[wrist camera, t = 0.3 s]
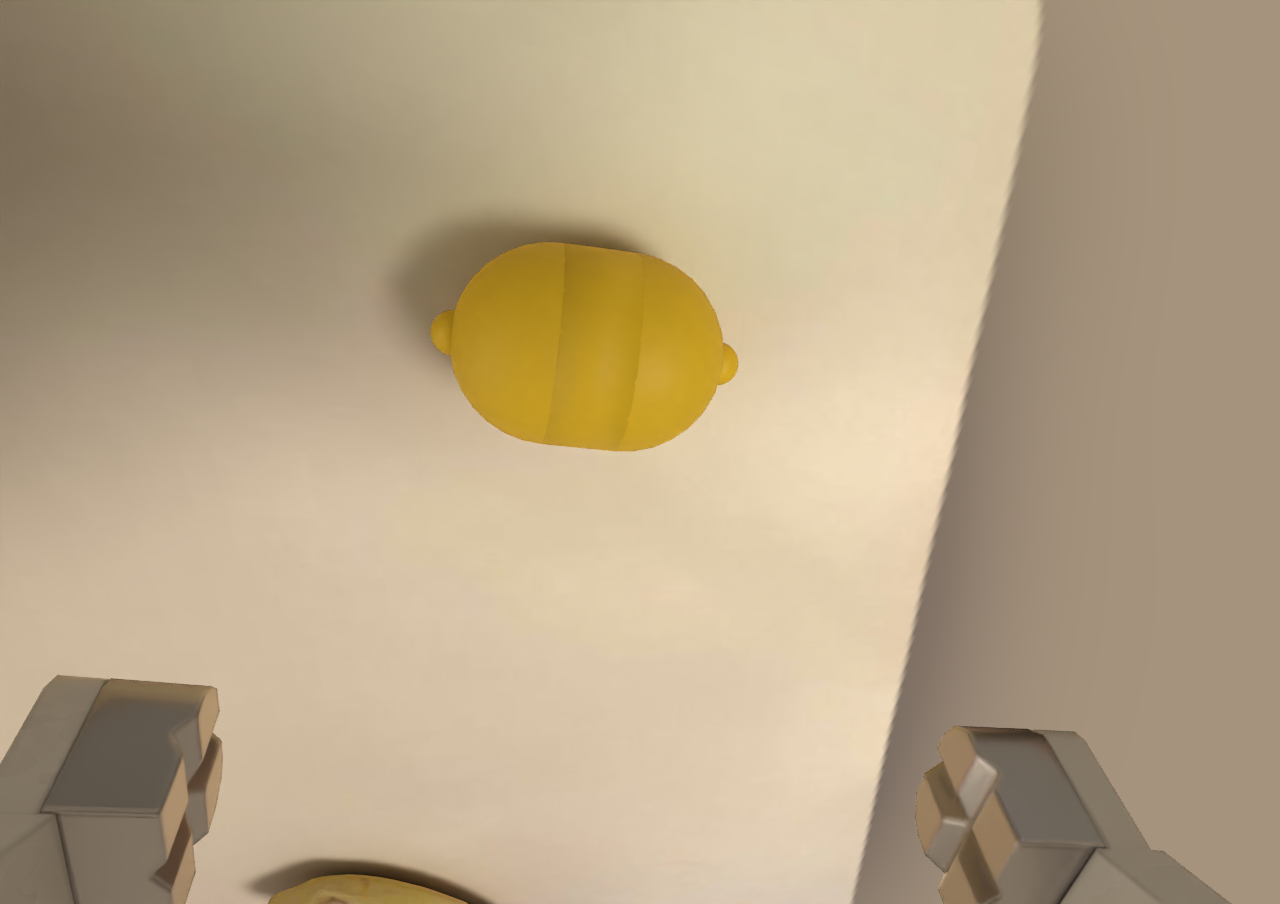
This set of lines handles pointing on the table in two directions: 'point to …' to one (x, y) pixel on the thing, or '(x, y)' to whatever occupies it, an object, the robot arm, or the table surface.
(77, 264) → the table surface
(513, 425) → the lemon
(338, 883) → the fruit
